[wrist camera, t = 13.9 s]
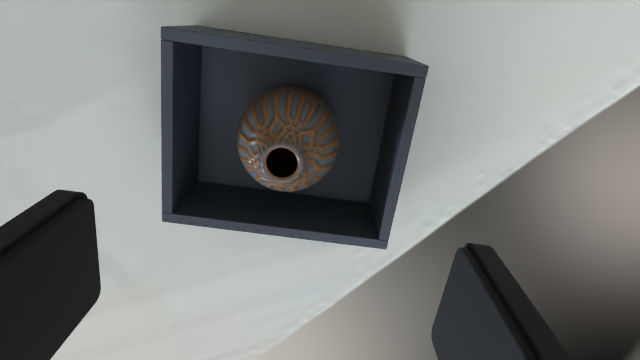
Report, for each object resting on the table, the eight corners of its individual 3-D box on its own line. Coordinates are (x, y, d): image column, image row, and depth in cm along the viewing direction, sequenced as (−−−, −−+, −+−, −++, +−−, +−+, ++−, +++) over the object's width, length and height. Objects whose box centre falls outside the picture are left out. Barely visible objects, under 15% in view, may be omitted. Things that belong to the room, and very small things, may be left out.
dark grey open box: (195, 25, 29) (160, 26, 22) (406, 56, 29) (429, 65, 23) (191, 184, 33) (161, 221, 27) (374, 208, 34) (386, 249, 28)
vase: (328, 71, 29) (330, 90, 21) (344, 159, 32) (352, 207, 23) (236, 90, 30) (204, 116, 22) (260, 175, 32) (239, 227, 24)
